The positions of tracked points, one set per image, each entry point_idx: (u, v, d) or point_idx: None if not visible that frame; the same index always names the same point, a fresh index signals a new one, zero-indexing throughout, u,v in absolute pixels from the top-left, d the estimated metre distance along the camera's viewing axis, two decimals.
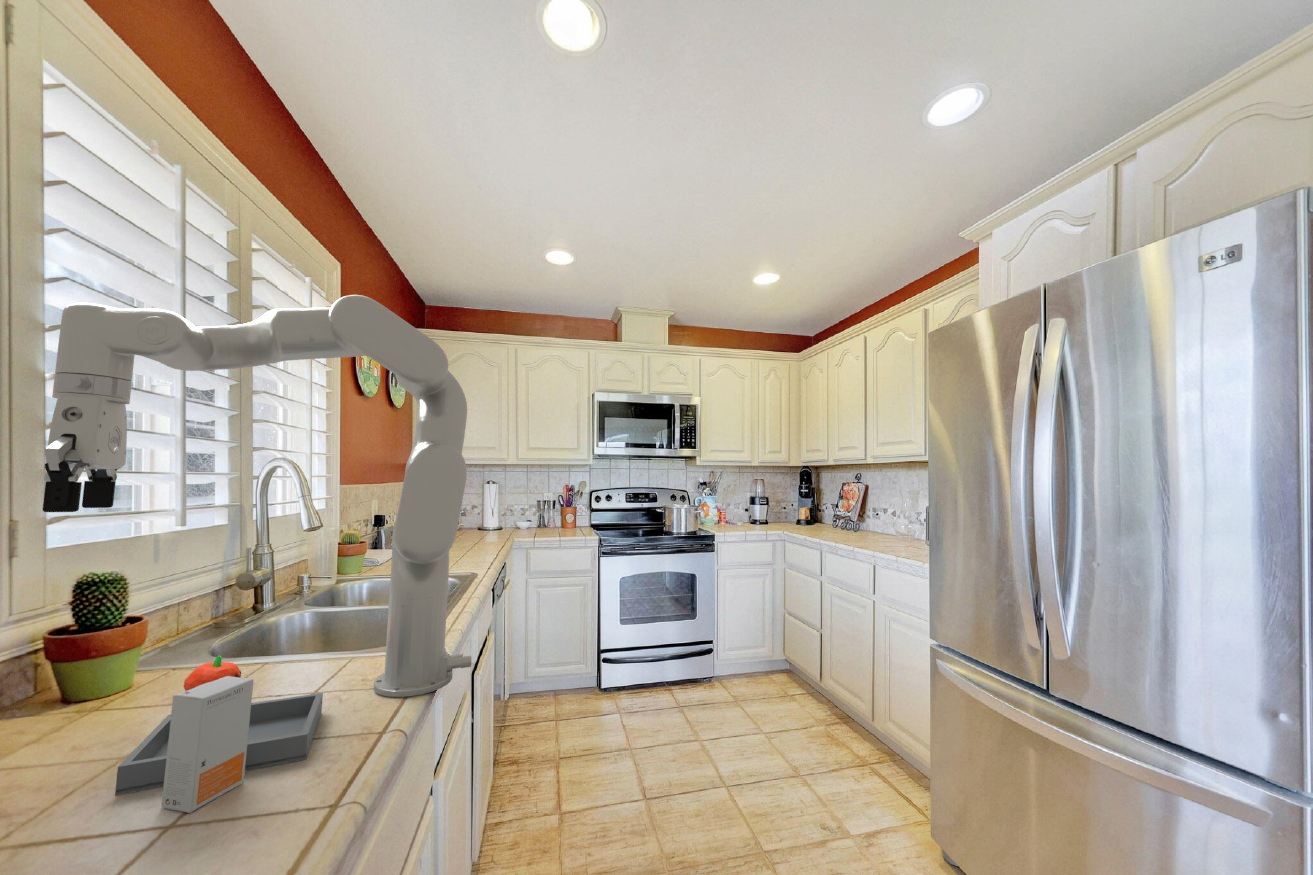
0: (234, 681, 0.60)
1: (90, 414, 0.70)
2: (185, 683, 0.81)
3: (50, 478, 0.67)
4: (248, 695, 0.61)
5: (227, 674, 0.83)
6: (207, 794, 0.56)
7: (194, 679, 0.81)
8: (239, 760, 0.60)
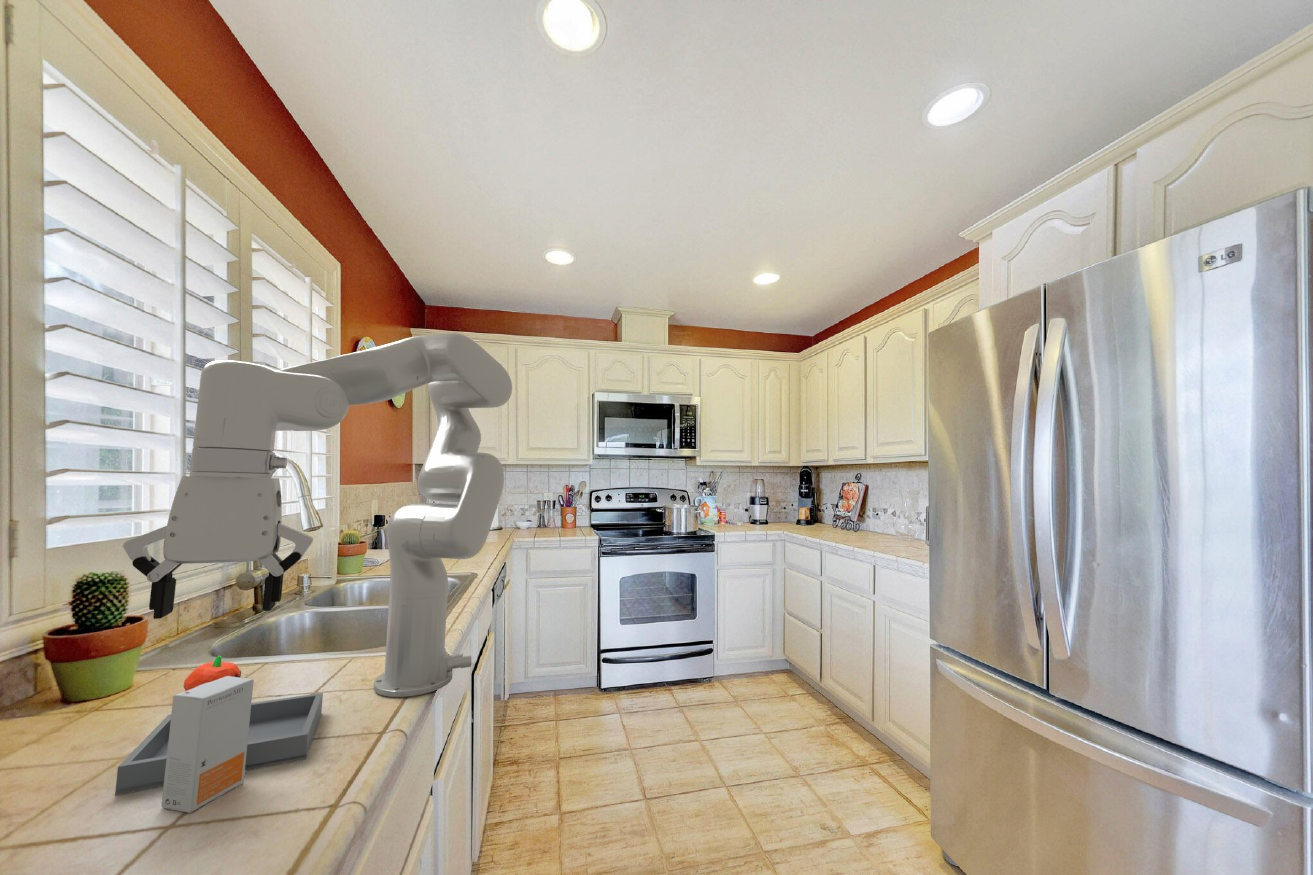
0: (234, 681, 0.60)
1: None
2: (185, 683, 0.81)
3: (284, 571, 0.62)
4: (248, 694, 0.61)
5: (227, 674, 0.83)
6: (207, 794, 0.56)
7: (194, 679, 0.81)
8: (239, 760, 0.60)
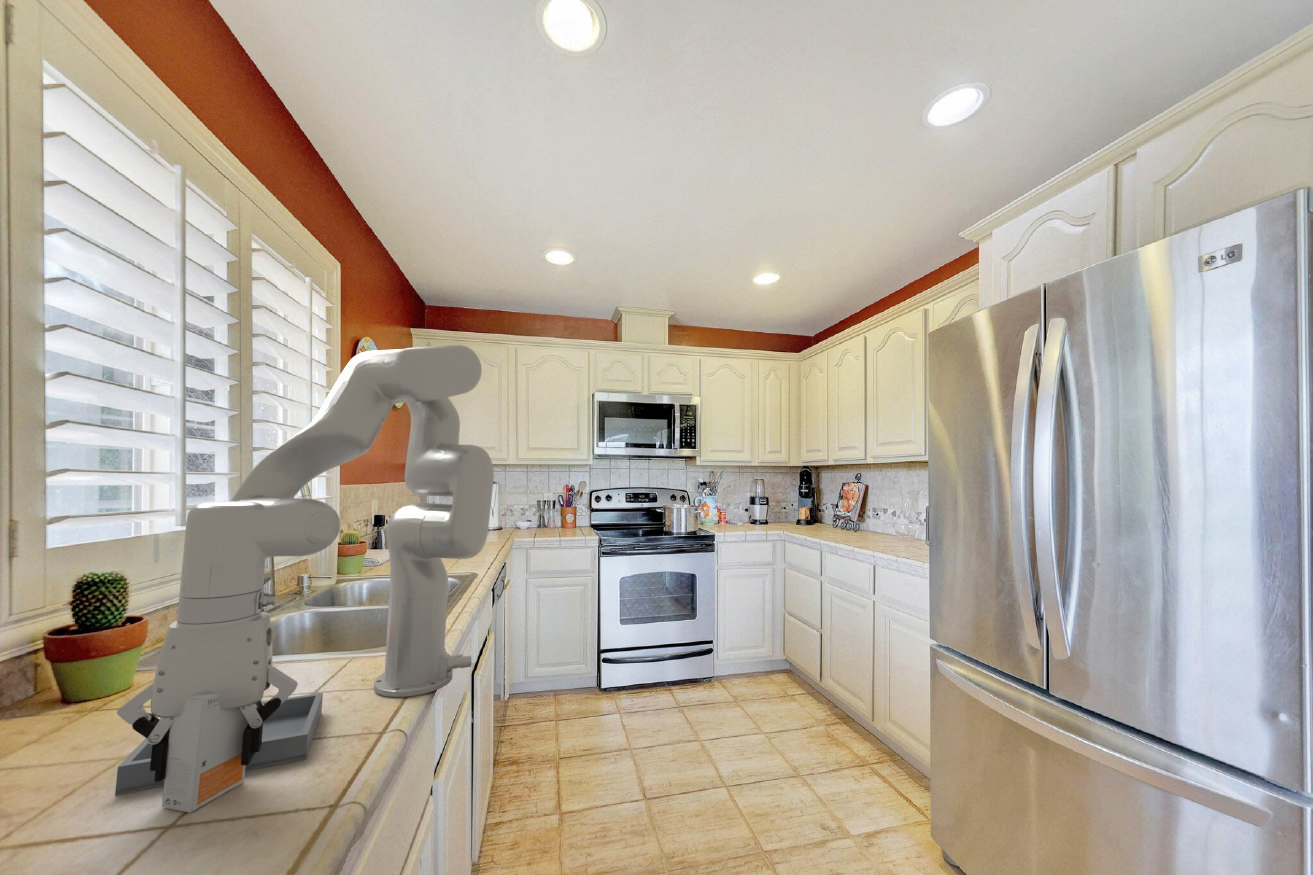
0: None
1: None
2: None
3: (263, 721, 0.60)
4: None
5: None
6: (208, 794, 0.56)
7: None
8: (239, 760, 0.60)
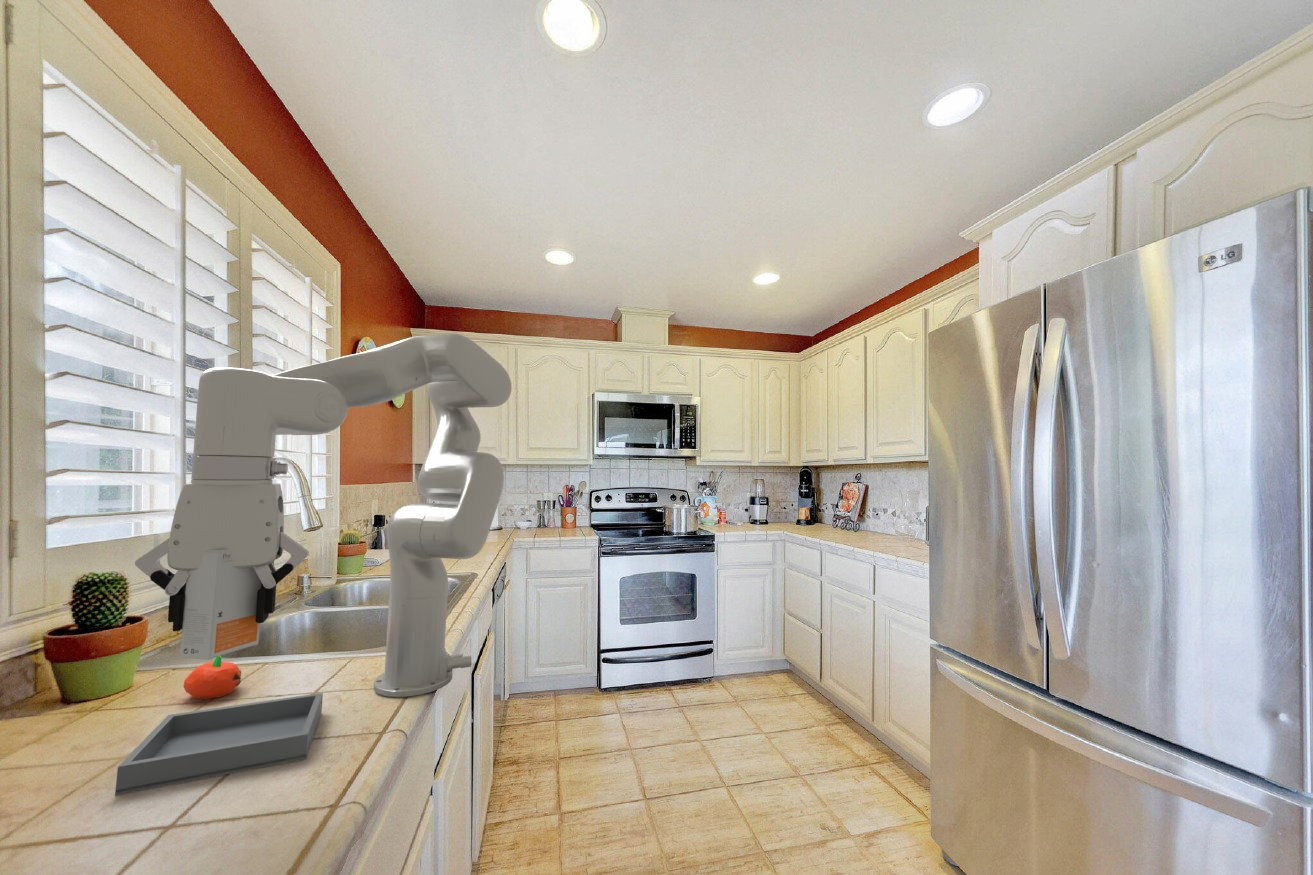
0: None
1: (282, 502, 0.64)
2: (185, 683, 0.81)
3: (276, 583, 0.62)
4: None
5: (227, 674, 0.83)
6: (224, 645, 0.58)
7: (194, 679, 0.81)
8: (254, 621, 0.61)
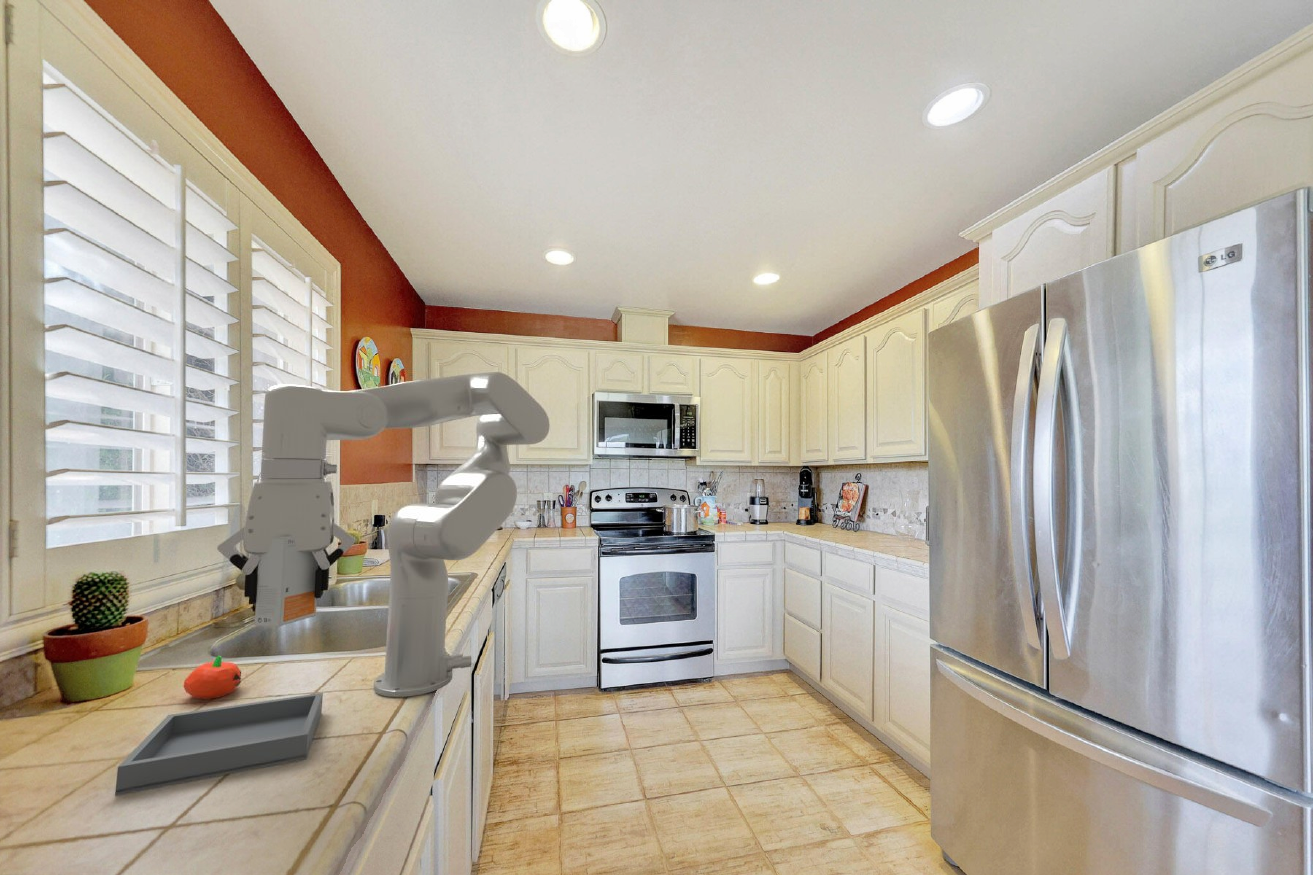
0: None
1: None
2: (185, 683, 0.81)
3: (330, 565, 0.73)
4: None
5: (227, 674, 0.83)
6: (290, 615, 0.70)
7: (194, 679, 0.81)
8: (312, 596, 0.73)
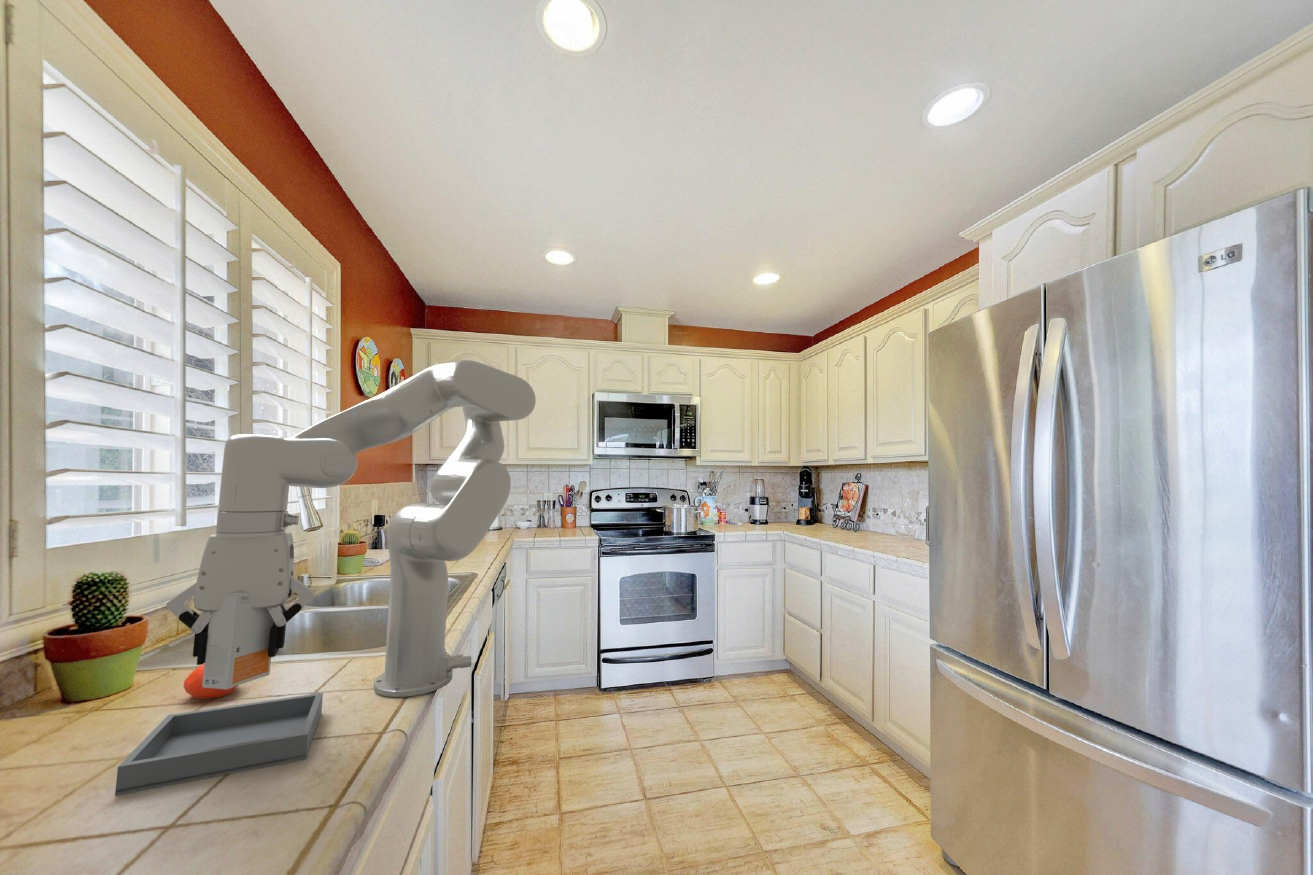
0: None
1: None
2: (185, 683, 0.81)
3: (287, 621, 0.70)
4: None
5: None
6: (240, 677, 0.66)
7: (194, 679, 0.81)
8: (266, 654, 0.70)
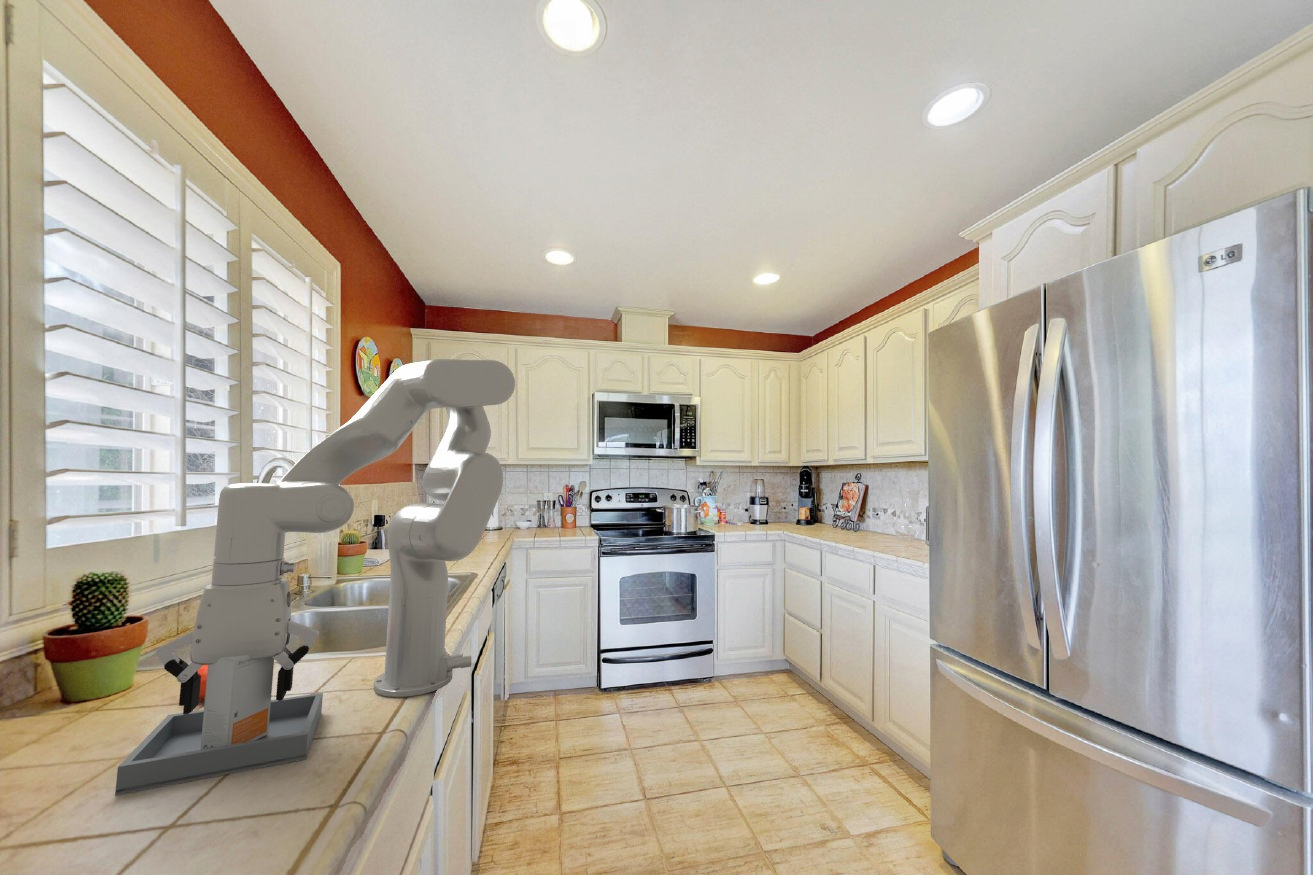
0: None
1: None
2: None
3: (294, 664, 0.71)
4: (271, 658, 0.71)
5: None
6: (239, 741, 0.66)
7: None
8: (264, 714, 0.70)
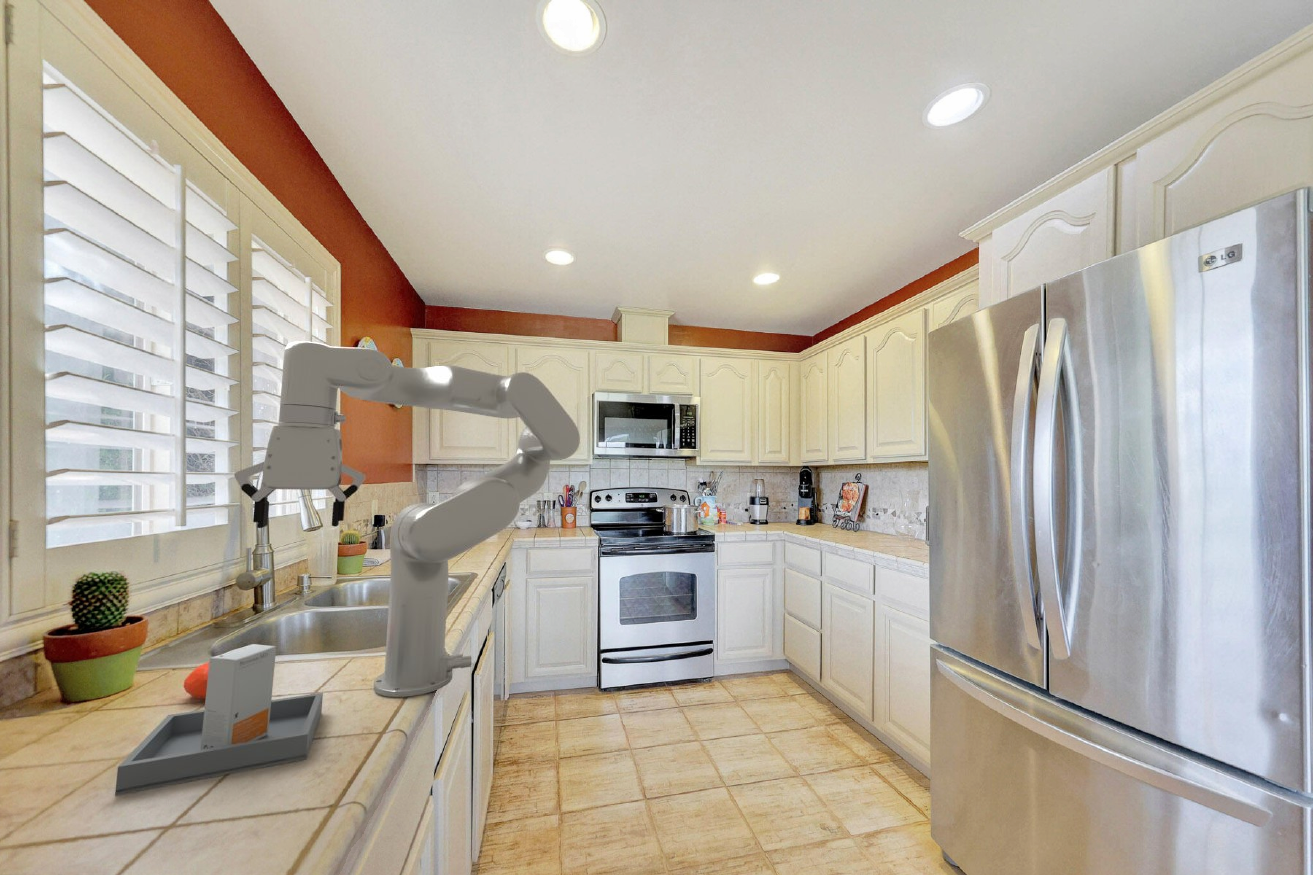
0: (260, 648, 0.70)
1: None
2: (185, 683, 0.81)
3: (346, 498, 0.83)
4: (272, 659, 0.71)
5: None
6: (239, 741, 0.66)
7: (194, 679, 0.81)
8: (264, 715, 0.69)
